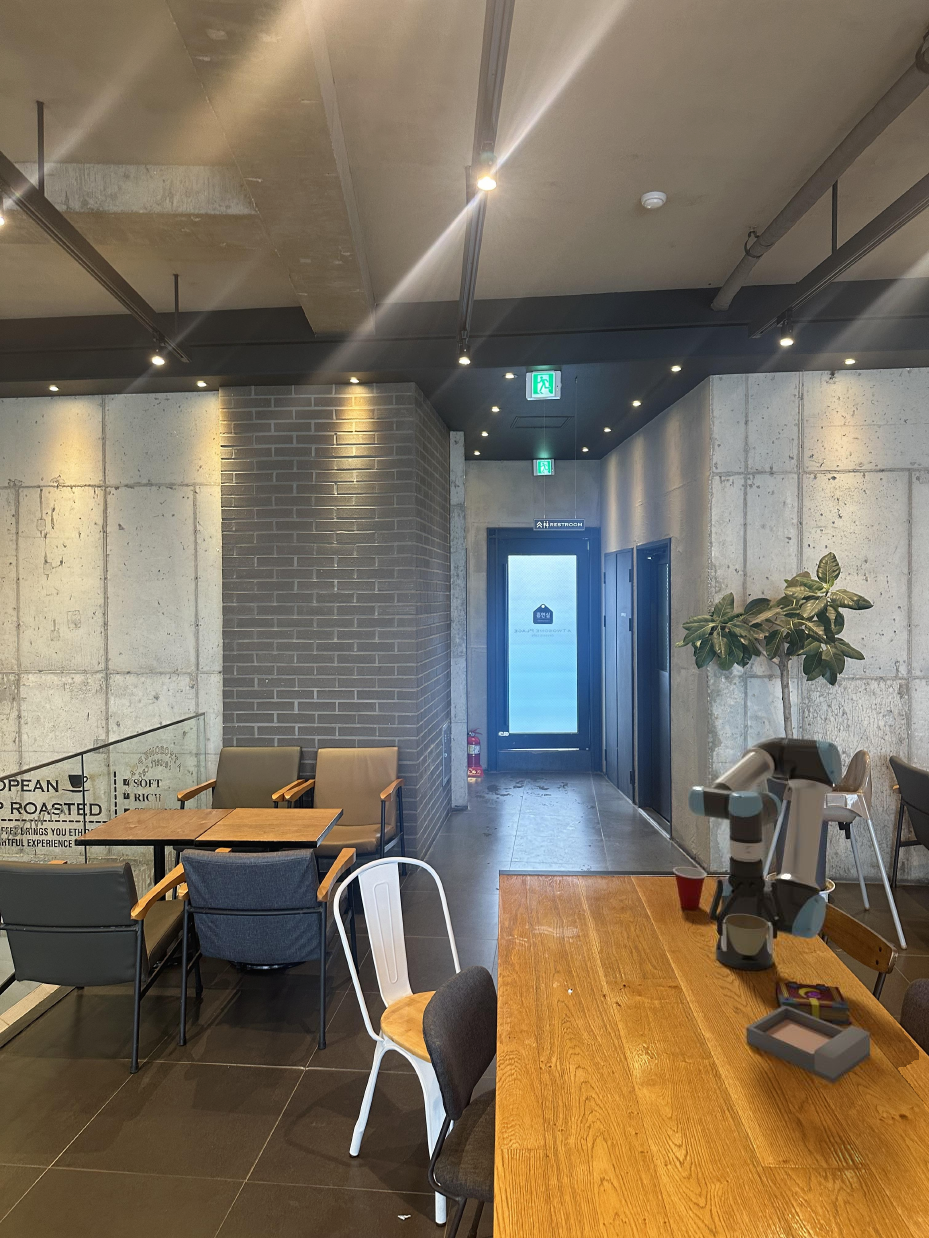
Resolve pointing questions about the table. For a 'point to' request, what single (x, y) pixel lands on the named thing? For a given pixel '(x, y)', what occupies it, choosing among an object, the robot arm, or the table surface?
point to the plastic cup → (689, 886)
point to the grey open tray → (810, 1042)
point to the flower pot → (746, 932)
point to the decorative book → (814, 1001)
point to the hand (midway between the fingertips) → (746, 950)
